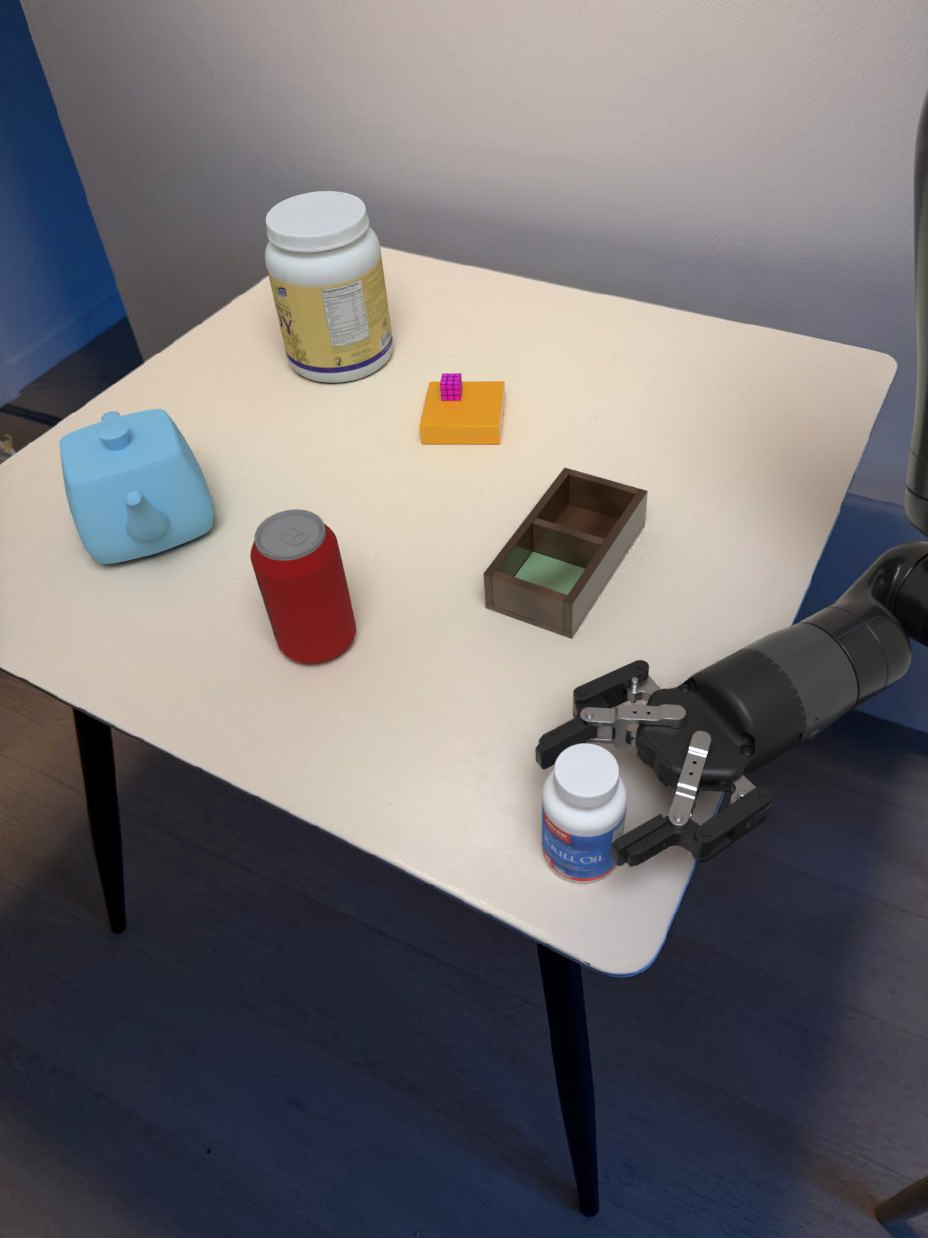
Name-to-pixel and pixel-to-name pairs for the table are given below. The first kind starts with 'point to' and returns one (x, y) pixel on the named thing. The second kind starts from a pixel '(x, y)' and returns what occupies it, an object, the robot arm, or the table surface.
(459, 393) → the flat orange square base
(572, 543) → the wooden compartment box
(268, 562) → the beverage can
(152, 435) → the teapot
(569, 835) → the pill bottle
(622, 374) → the table surface
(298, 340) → the supplement tub
